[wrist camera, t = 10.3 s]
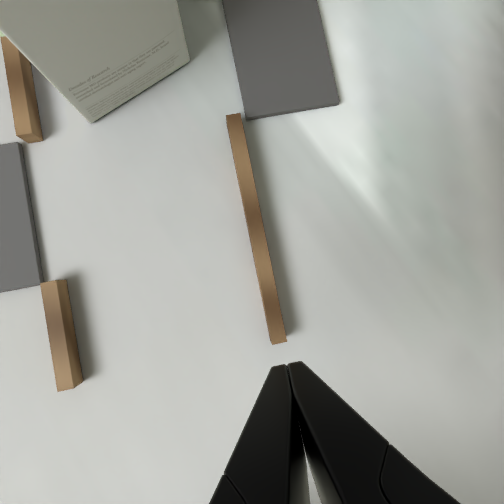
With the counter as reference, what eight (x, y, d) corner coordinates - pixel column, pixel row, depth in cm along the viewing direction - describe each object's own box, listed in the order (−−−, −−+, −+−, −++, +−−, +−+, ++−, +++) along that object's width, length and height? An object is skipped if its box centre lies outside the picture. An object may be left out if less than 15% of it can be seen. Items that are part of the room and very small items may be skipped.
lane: (284, 337, 21) (292, 348, 18) (68, 384, 20) (38, 404, 17) (204, -54, 23) (199, -103, 20) (0, -28, 22) (-37, -75, 19)
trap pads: (363, 221, 22) (366, 220, 22) (-63, 305, 20) (-69, 305, 20) (310, -19, 23) (311, -24, 23) (-101, 39, 21) (-107, 34, 21)
